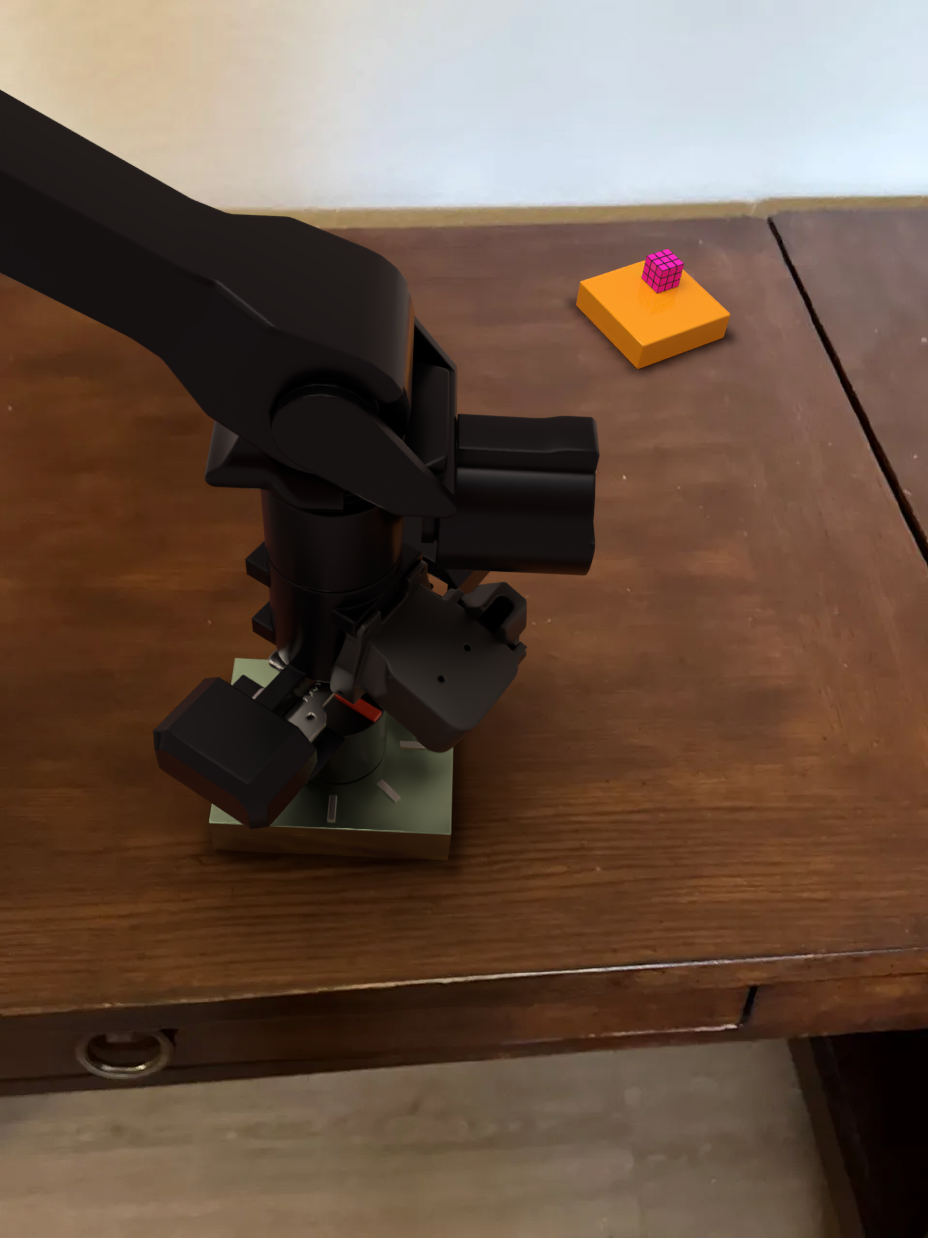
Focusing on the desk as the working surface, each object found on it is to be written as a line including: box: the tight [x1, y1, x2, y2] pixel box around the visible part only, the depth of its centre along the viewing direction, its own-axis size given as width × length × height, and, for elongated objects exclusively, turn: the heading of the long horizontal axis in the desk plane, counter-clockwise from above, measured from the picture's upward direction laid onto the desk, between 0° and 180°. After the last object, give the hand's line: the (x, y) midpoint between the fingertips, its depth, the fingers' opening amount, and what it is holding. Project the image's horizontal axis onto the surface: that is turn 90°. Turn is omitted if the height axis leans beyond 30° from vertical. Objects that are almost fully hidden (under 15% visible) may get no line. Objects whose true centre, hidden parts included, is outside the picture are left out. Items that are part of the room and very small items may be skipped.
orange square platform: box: [575, 248, 731, 370], centre depth 89 cm, size 8×8×4 cm
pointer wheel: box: [306, 683, 388, 783], centre depth 61 cm, size 5×5×5 cm
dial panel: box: [208, 657, 454, 862], centre depth 64 cm, size 12×10×3 cm
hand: (337, 737), depth 63 cm, fingers closed on pointer wheel, 5 cm apart
